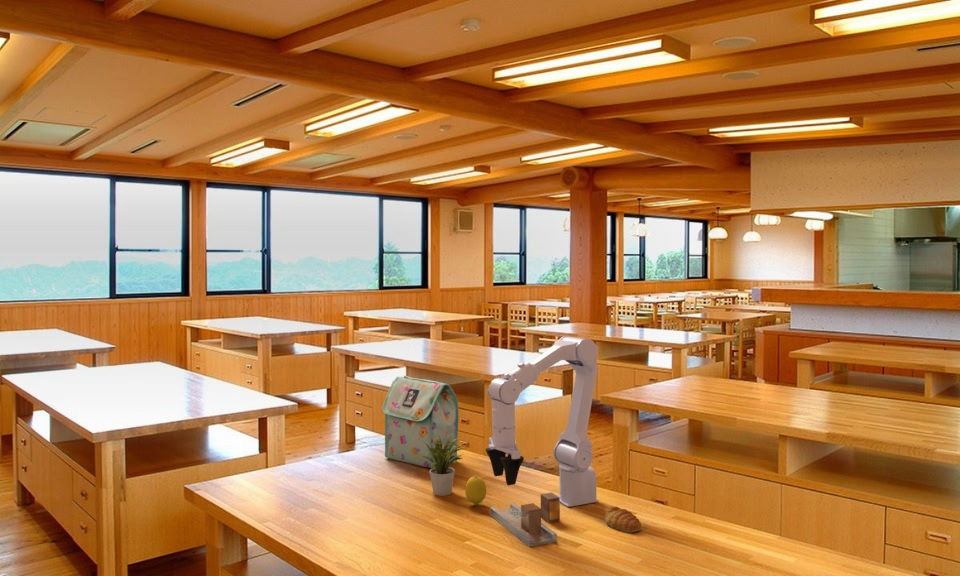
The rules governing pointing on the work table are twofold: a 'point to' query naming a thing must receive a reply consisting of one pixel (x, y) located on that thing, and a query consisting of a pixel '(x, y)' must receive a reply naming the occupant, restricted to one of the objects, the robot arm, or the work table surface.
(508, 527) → the rail
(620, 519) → the pastry
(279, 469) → the work table surface
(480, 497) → the lemon
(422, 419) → the lunch bag
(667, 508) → the work table surface
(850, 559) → the work table surface
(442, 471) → the house plant
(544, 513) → the brown rectangular block
